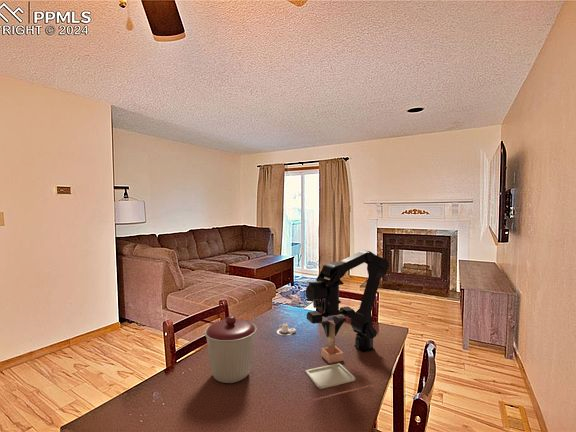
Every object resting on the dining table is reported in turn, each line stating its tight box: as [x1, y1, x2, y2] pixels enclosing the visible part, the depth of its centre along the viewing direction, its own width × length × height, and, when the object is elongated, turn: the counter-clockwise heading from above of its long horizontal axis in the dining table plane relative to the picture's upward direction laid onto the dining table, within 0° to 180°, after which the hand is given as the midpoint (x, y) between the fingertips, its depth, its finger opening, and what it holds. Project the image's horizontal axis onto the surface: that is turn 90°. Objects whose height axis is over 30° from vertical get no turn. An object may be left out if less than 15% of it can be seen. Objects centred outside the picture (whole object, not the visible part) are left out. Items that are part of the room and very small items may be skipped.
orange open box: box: [321, 345, 344, 364], centre depth 122 cm, size 6×6×4 cm
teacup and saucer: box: [276, 322, 297, 336], centre depth 147 cm, size 9×8×4 cm
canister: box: [203, 315, 258, 384], centre depth 110 cm, size 18×18×21 cm
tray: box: [304, 362, 357, 390], centre depth 109 cm, size 14×11×1 cm
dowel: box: [326, 321, 336, 348], centre depth 121 cm, size 3×3×9 cm
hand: (331, 336), depth 121 cm, fingers closed on dowel, 3 cm apart
